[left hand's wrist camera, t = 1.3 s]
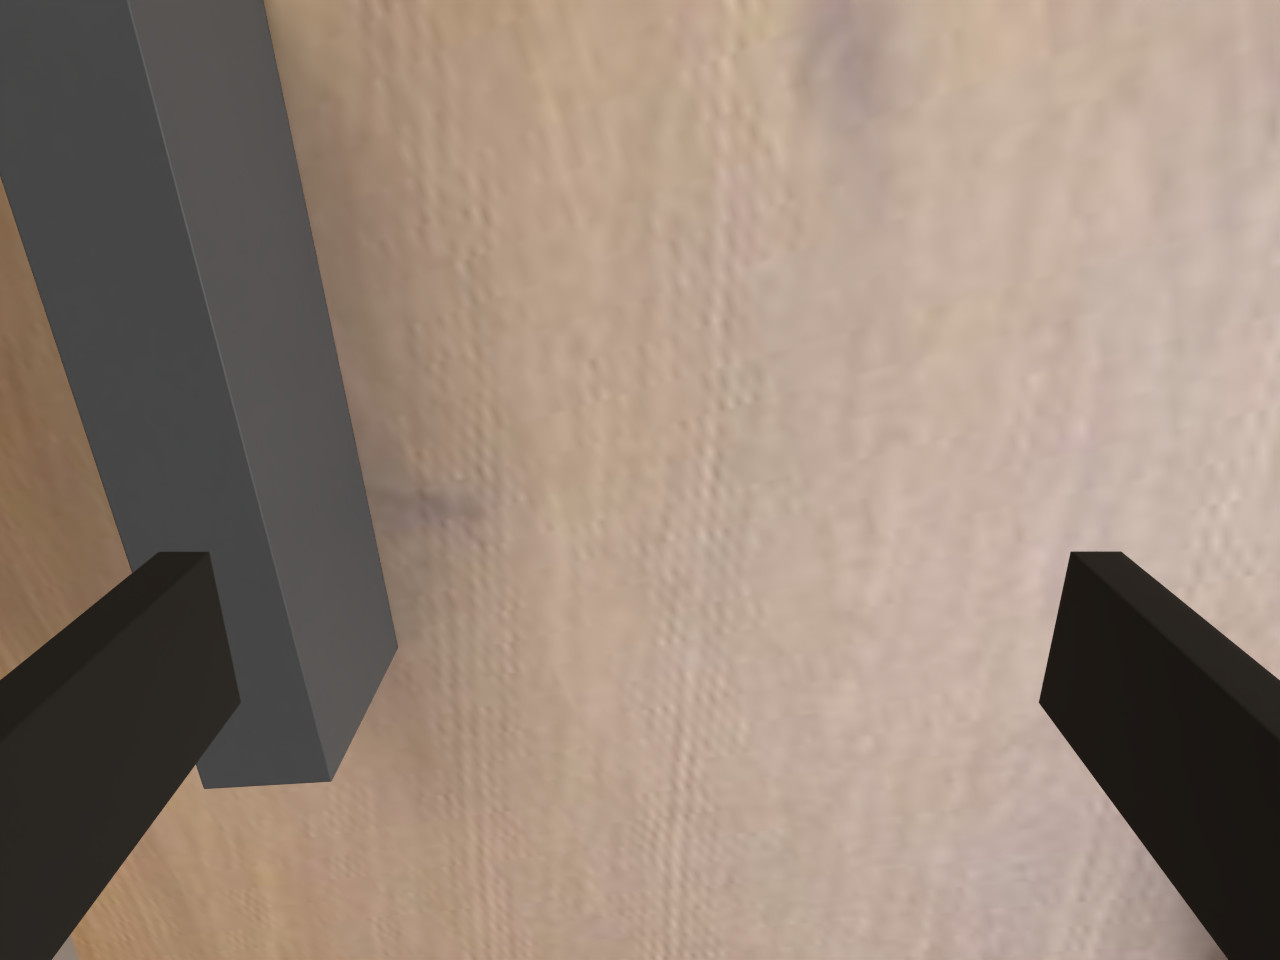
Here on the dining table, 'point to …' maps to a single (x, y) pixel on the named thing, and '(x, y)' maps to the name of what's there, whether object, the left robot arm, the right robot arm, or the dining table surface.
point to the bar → (202, 345)
